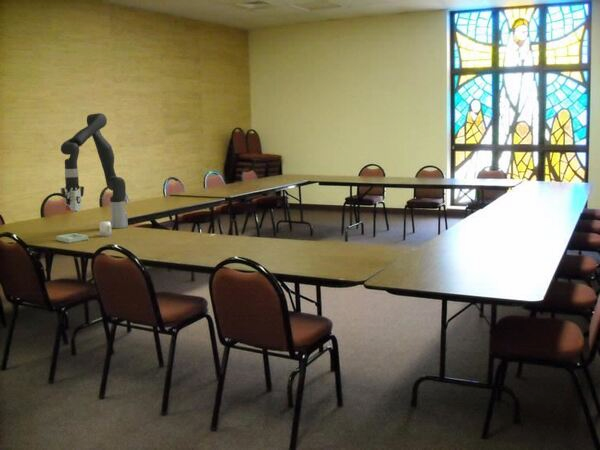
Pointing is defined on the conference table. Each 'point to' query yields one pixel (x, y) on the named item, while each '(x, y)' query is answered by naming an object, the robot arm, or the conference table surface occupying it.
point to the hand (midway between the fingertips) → (73, 204)
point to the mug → (105, 228)
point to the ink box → (74, 201)
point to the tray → (72, 238)
